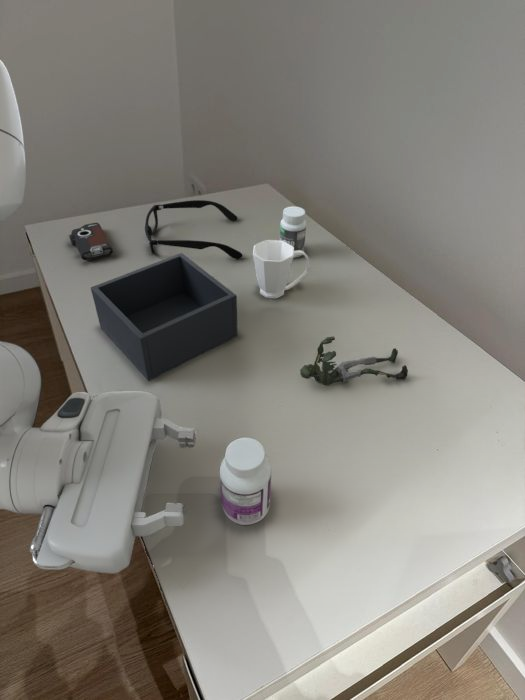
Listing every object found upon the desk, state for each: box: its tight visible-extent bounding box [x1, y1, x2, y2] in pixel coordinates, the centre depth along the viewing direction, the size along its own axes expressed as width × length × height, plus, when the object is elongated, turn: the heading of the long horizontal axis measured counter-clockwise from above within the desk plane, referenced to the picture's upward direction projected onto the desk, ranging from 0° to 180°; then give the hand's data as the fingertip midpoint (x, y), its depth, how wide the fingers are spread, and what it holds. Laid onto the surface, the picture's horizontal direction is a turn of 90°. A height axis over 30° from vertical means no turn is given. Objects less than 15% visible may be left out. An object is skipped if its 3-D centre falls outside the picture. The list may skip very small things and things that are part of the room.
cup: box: [252, 239, 311, 300], centre depth 86 cm, size 7×10×8 cm
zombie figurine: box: [299, 335, 409, 386], centre depth 71 cm, size 5×7×15 cm
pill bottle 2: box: [279, 205, 307, 259], centre depth 95 cm, size 5×5×8 cm
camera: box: [68, 222, 114, 261], centre depth 97 cm, size 6×3×11 cm
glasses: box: [144, 199, 244, 260], centre depth 99 cm, size 17×18×5 cm
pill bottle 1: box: [219, 437, 272, 526], centre depth 54 cm, size 5×5×10 cm
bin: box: [90, 252, 238, 382], centre depth 77 cm, size 16×15×8 cm
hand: (190, 473), depth 54 cm, fingers open, 8 cm apart
